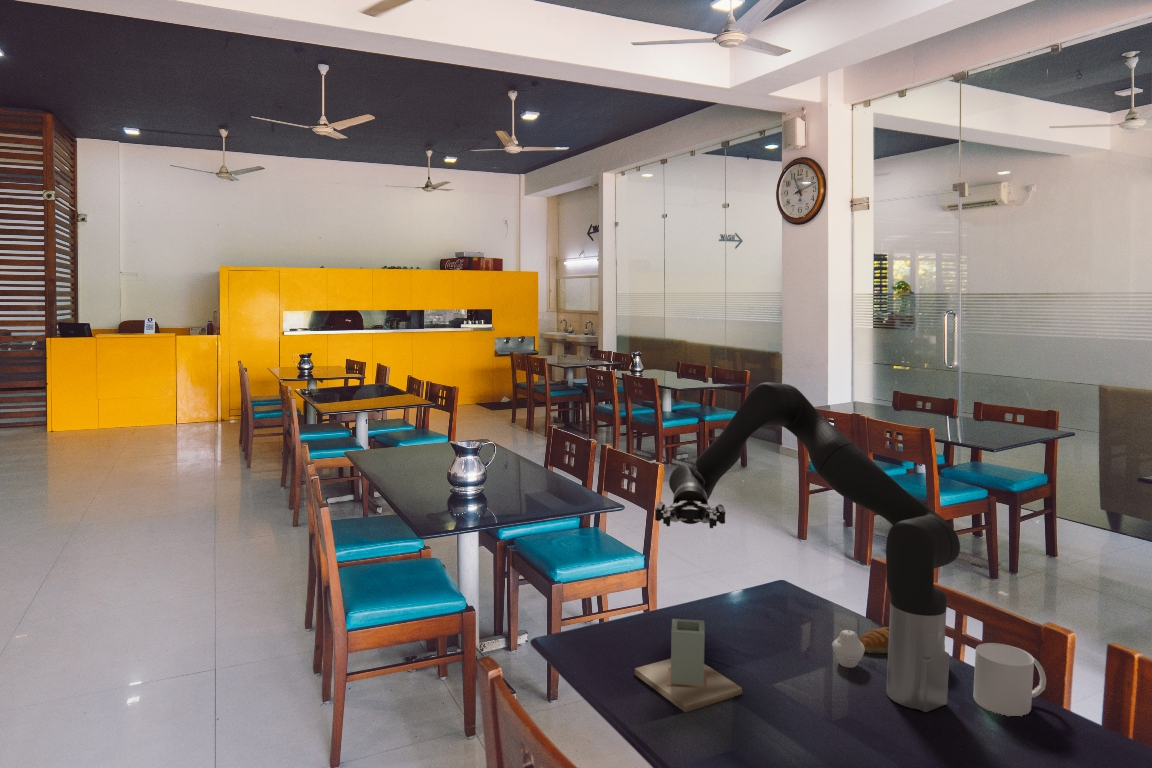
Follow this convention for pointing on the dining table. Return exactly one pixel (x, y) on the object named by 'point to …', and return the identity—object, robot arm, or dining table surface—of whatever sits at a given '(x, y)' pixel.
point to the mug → (1005, 679)
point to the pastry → (876, 640)
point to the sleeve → (687, 652)
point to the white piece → (848, 649)
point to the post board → (688, 686)
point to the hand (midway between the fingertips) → (689, 522)
